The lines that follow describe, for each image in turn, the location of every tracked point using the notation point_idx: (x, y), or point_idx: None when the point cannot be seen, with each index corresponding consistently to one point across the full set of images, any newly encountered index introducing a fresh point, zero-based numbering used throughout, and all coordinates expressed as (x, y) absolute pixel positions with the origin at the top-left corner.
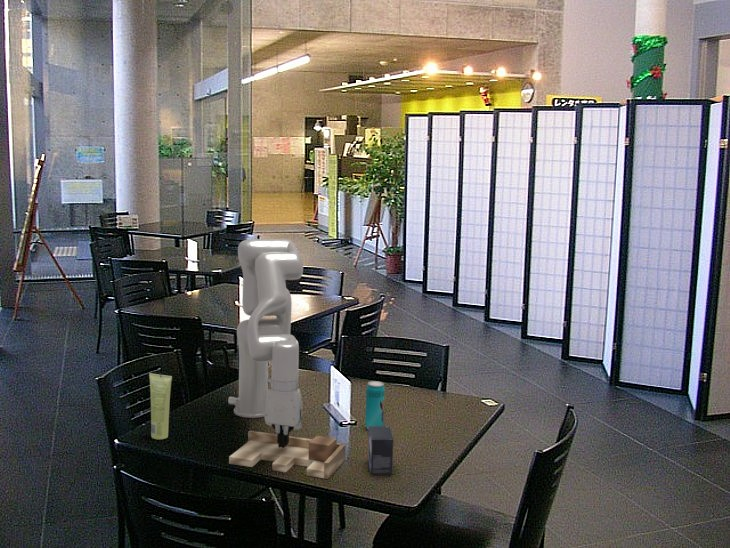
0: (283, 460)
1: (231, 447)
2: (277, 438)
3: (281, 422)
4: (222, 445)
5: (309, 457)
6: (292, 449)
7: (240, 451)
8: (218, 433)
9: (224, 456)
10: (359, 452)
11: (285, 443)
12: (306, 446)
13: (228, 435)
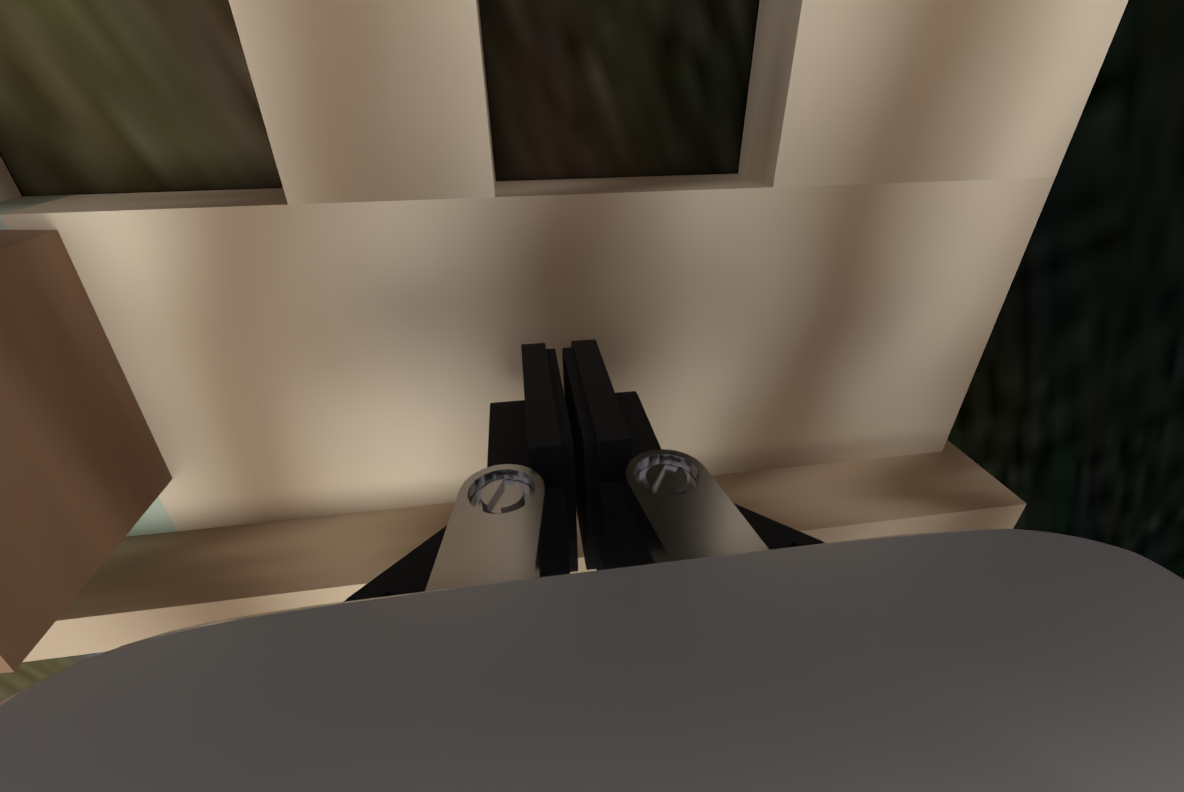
0: (357, 20)
1: (1053, 339)
2: (646, 420)
3: (583, 644)
4: (1127, 345)
5: (11, 237)
6: (465, 432)
7: (1030, 119)
8: (1137, 515)
9: (1132, 94)
10: (2, 682)
11: (512, 402)
12: (343, 529)
13: (1070, 517)
